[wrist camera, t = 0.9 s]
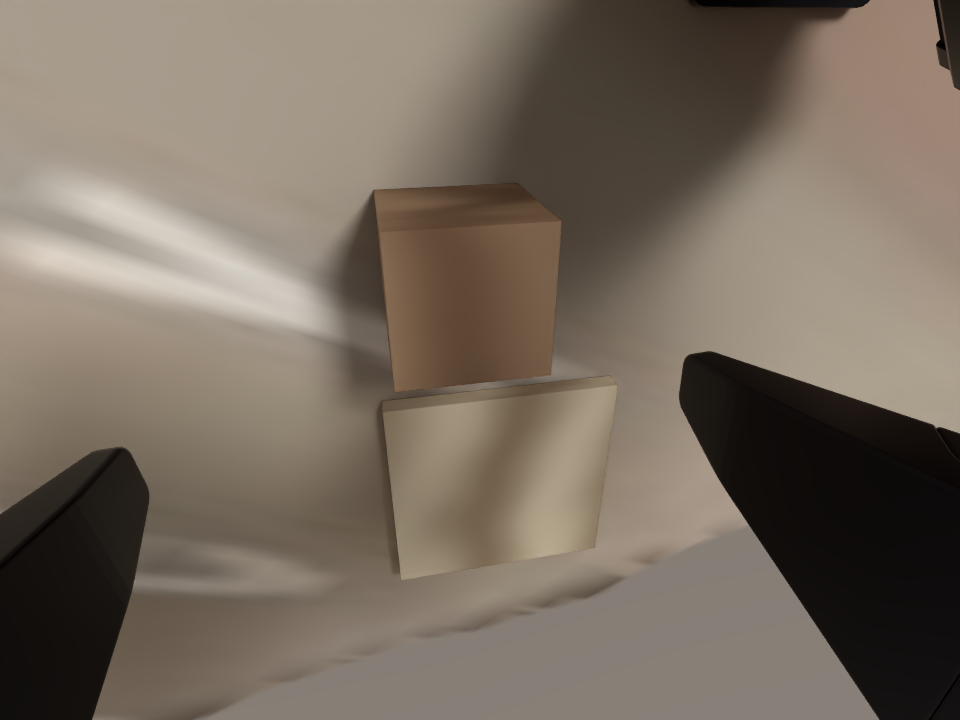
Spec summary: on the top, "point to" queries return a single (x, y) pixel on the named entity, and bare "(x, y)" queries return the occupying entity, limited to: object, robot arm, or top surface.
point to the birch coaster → (497, 473)
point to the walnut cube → (467, 283)
